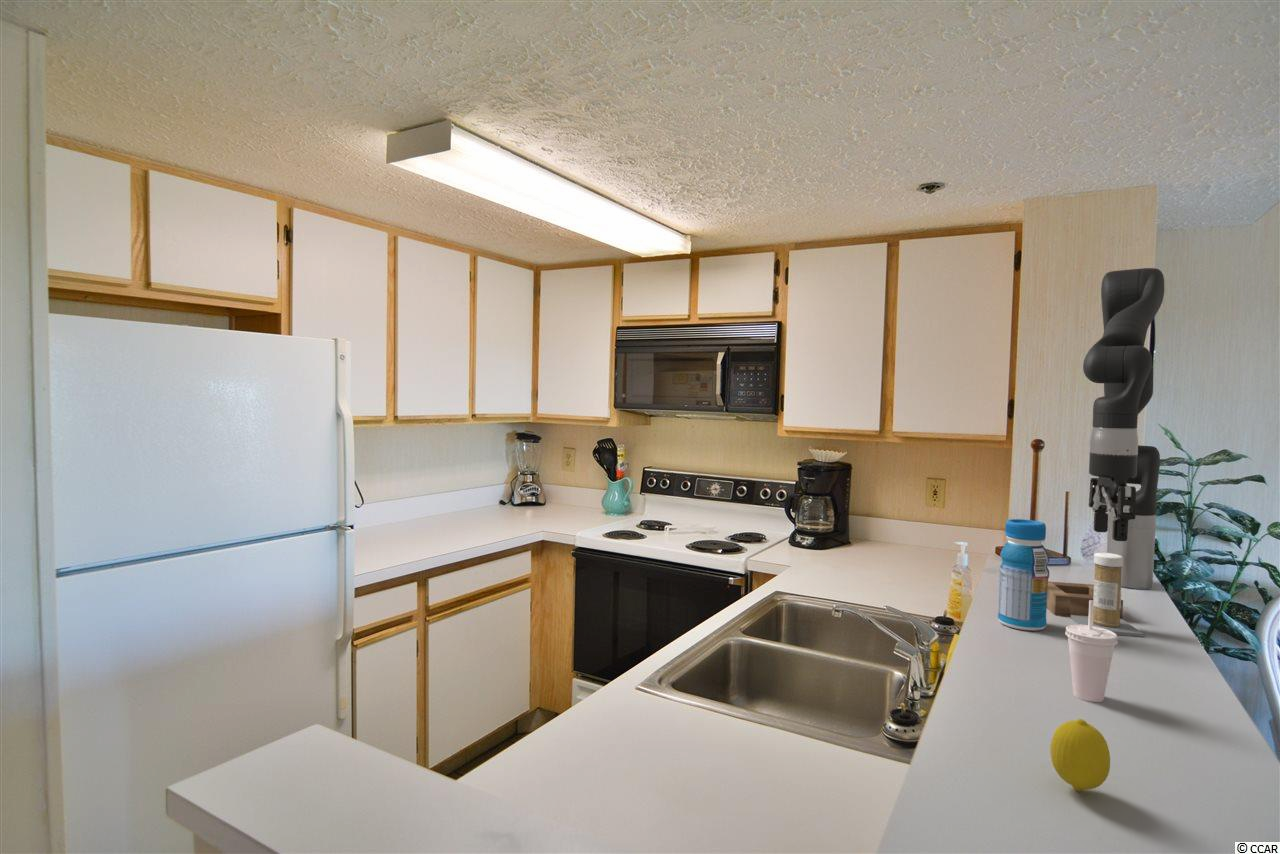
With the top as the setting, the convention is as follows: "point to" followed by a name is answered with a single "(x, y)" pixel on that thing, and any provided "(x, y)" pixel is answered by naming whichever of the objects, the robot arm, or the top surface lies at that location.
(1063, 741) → the lemon
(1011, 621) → the beverage bottle
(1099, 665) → the smoothie
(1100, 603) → the sprinkles bottle
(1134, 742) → the top surface
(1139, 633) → the slate pad
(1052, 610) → the walnut socket block
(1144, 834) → the top surface
